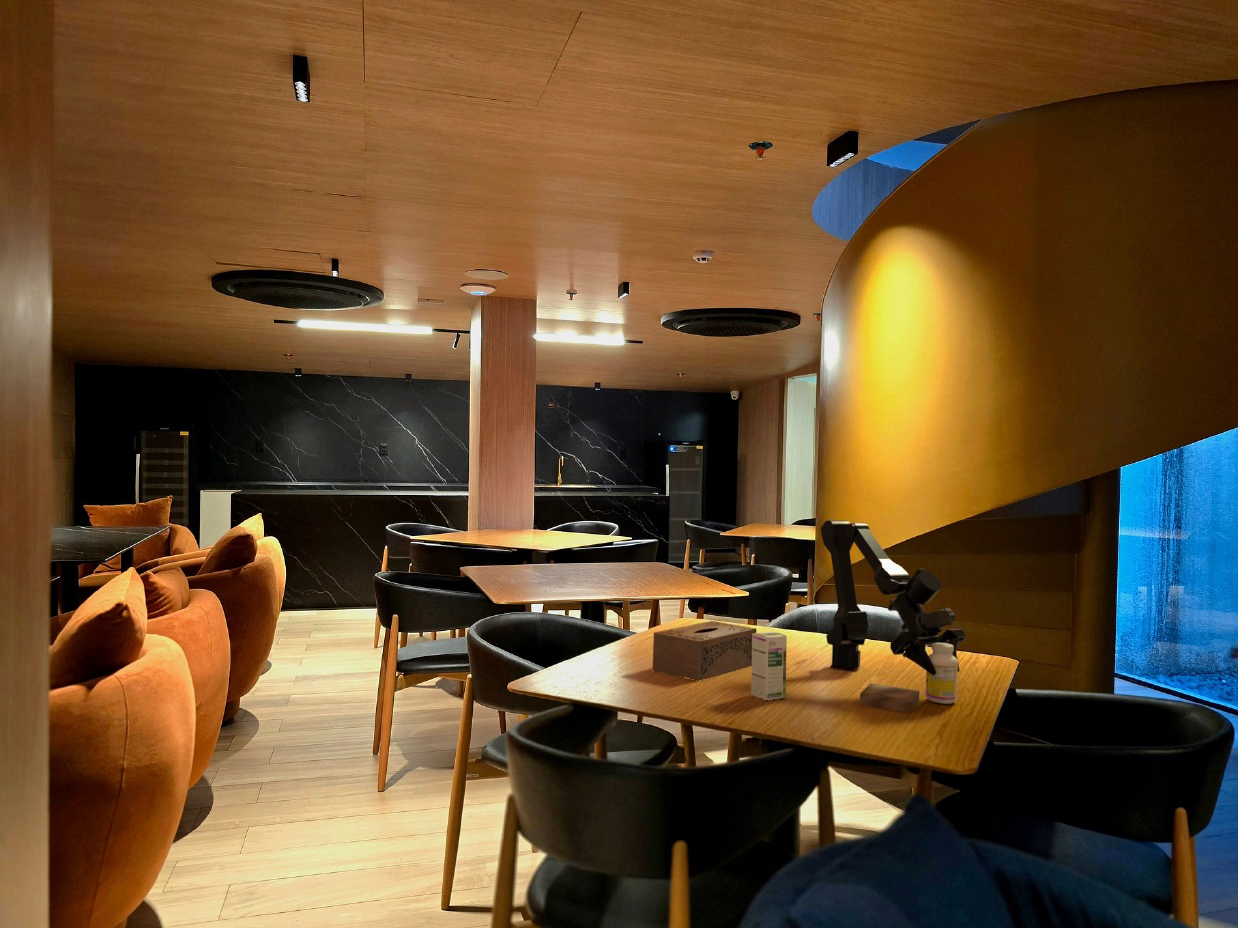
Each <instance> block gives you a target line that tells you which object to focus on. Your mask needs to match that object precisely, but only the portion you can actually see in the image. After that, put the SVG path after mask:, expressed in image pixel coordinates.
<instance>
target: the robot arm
mask: <svg viewBox="0 0 1238 928" xmlns="http://www.w3.org/2000/svg"><path fill="white" fill-rule="evenodd" d="M820 535H821V538H822V539H821V540H822V543H823V546H824V547H825V548H826V550H827V551H828V552H829V553H830V559H831V564H832V571H833V579H834V587H835V595H836V603H837V610H836V611H835V613H834V616H833V627H832V628H831V629H830V630H829V632H828V633H827V634H826V635H825V637H826V643H827V644H828V645H831V646H832V647H831V648H832V650H831V652H832V653H831V665H829V668H831V669H836V670H842V671H849V672H855V671H856V670H858V669H859V668H860V667H861V650H859V648H860V647H859V646H864V645H865V642H866V638H867V636H868V634H869V627H870V625H869V622H868V614H867V612H866V611H862V610H861V608H860V607H859V606H858V601H857V595H856V588H855V581H854V573H853V566H852V559H851V550H852V547H853V545H854V544H855V546H856V547H857V548H858V550H859V552H860V553H861V555H862V556H863V557H864V559H865V560H866V562H867V563H868V564H869V566H870V568H871V569H872V571H873V579H874V580H873V581H874V582H875V584H876V586H877V588H878V590H879V591H878V592H880V593H881V594H882V595H884V596H896V597H895V598H894V599H889V604H888V607H887V610H888V611H889V612H895V611H896V612H897V614H898V616H899V618H900V619H901V621H902V626H901V628H902V629H901V630H903V631H900V632H899V633H898V634H897V635H896V636H895V637H894V638H893V640H892V641H891V642H890V645H889V647H890V651H891V652H892V654H893V655H894V656H897V655H899V656H900V655H902V657H903V658H907V659H908V660H910V661H911V662H913V663H915V664H916V665H917V666H919V667H921V668H922V669H923V670H925V671H926V673H927V672H929V673H930V674H932V675H935V674H936V670H935V668H934V666H933V664H932V662H931V660H930V658H929V654H928V653H927V650H926V646H932V643H947V644H951V645H953V646H954V651H953V653H952V655H953V656H954V657H956V659H957V661H958V660H959V659H958V656H957V653H958V652H957V648H958V647H959V646H960V644H962V643H963V642H964V641H965V640H966V639H967V635H966V634H965V631H964V630H963V629H960V628H947V629H946V630H945V631H944V632H943V633H942V631H943V628H942V627H945V626H951V625H953V622H955V621H956V615H955V613H954V612H953V610H952V609H951V608H950V607H945V608H943V609H940V610H935V611H931V612H930V611H927V612H926V611H925V609H924V607H923V605H927V604H929V603H930V601H931V600H932V599H933V598H934V597H935V596H936V595H937V594H938V593H939V592H940V591H941V589H942V587H943V584H942V582H941V580H940V578H938V577H937V576H936V575H934V574H933V573H932V572H929V571H927V569H926V568H924V567H923V568H922V567H921V568H918V569H917V570H916V571H915V573H914V574H913V576H912V577H911V576H910V574H909V573H908V572H907V571H906V570H905V569H904V568H903V567H902V566H900V565H899V564H896V562H893V561H892V560H891V558H889V556H888V554H887V553H886V552H885V550H884V549H883V548H882V546H881V544H880V543H879V542H878V541H877V539H876V537H875V536H874V535H873V533H872V532H871V530H870V526H869V525H868V524H866V523H864V522H852V523H851V522H850V521H849V520H835V519H834V520H831V519H829V520H826V521H824V522H823V524H822V526H821V527H820ZM939 633H942V634H941V635H939ZM958 662H959V661H958ZM959 672H960V665H959V664H958V669H957V674H959Z"/></svg>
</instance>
